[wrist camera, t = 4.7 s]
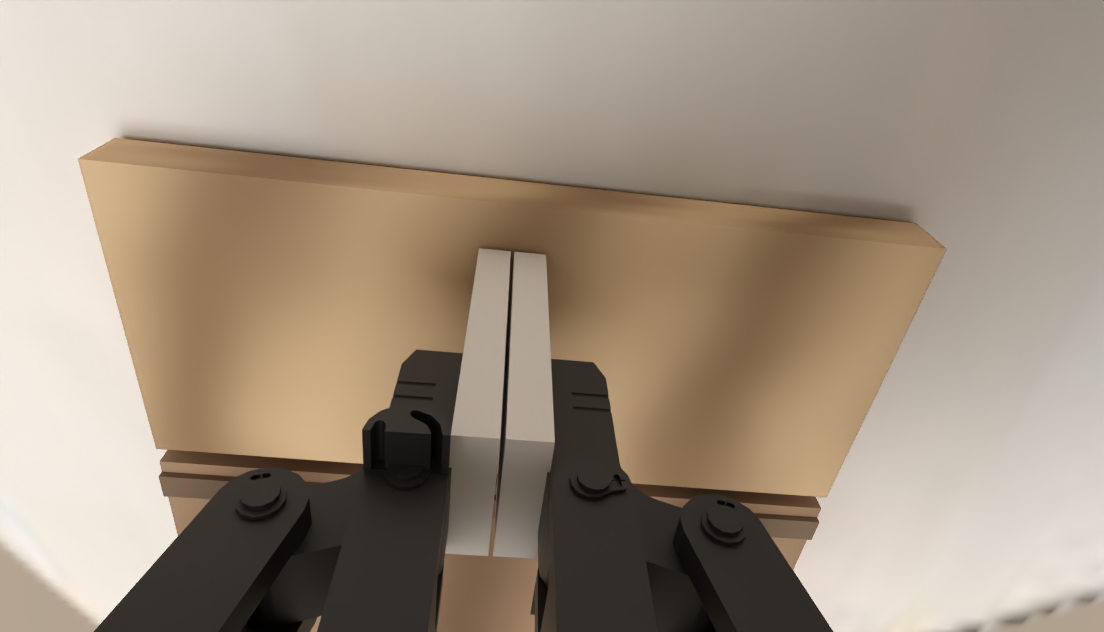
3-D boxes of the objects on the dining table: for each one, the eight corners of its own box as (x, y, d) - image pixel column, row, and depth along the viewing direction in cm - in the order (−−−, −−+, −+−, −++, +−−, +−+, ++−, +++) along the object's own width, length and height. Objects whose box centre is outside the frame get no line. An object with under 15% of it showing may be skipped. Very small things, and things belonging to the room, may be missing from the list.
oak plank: (916, 223, 17) (946, 249, 16) (809, 462, 22) (826, 497, 20) (115, 137, 16) (78, 158, 14) (180, 414, 20) (156, 448, 19)
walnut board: (804, 474, 22) (823, 513, 21) (734, 638, 27) (746, 679, 25) (183, 427, 20) (156, 466, 19) (222, 610, 25) (203, 652, 24)
